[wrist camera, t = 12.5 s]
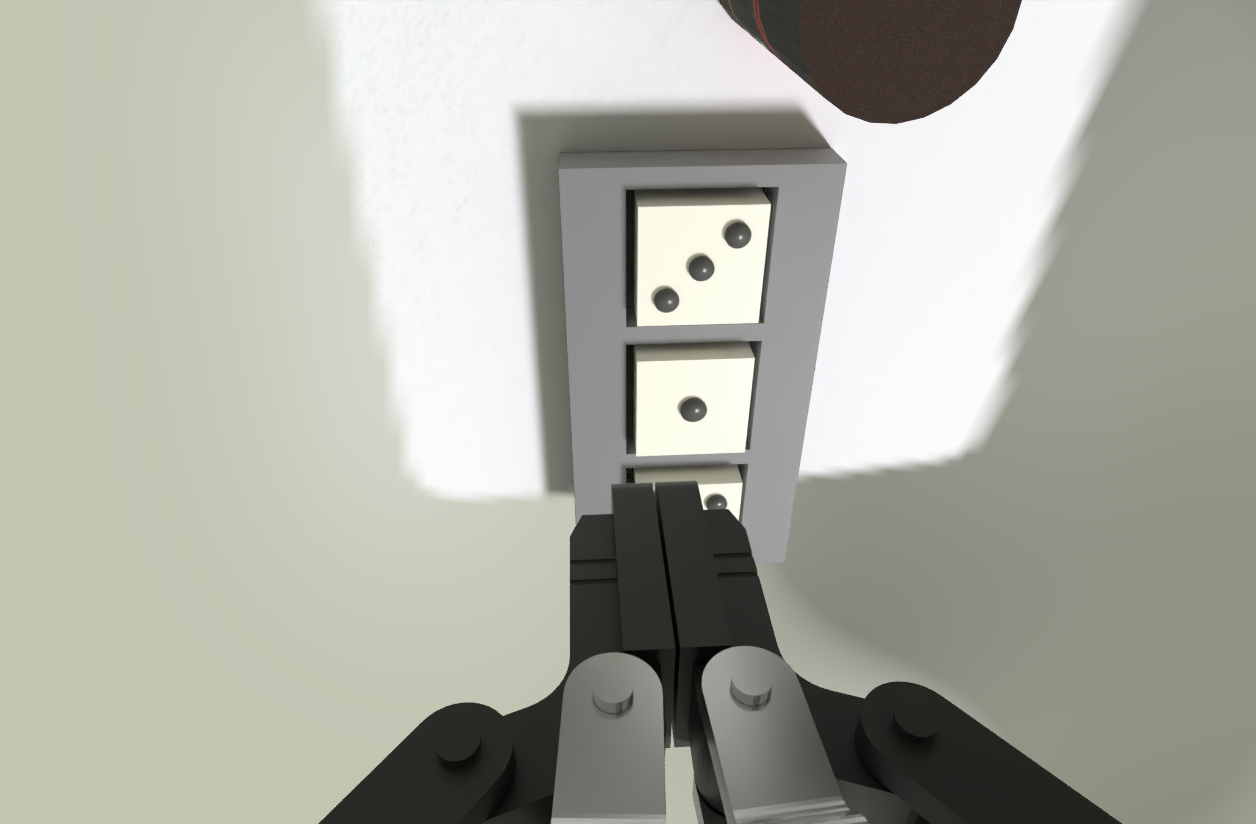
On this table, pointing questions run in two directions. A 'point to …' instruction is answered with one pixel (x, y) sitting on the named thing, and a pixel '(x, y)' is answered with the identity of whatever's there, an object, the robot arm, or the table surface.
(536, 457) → the table surface
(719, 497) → the tile two
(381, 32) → the table surface
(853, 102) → the deodorant
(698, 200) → the tile three
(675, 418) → the tile one
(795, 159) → the grey tile tray
